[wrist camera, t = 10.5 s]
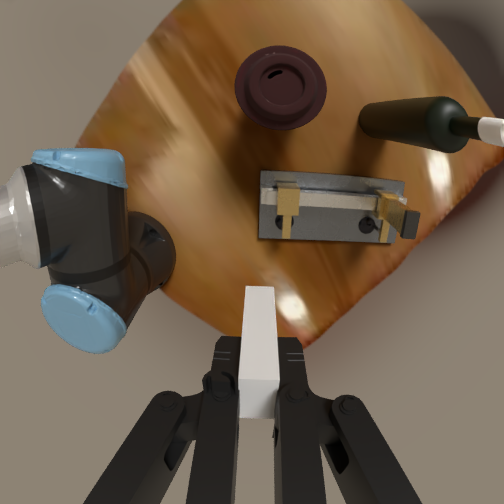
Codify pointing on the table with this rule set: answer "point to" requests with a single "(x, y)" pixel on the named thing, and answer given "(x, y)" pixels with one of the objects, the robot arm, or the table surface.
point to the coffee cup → (280, 87)
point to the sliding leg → (394, 216)
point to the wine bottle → (429, 124)
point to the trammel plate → (326, 215)
